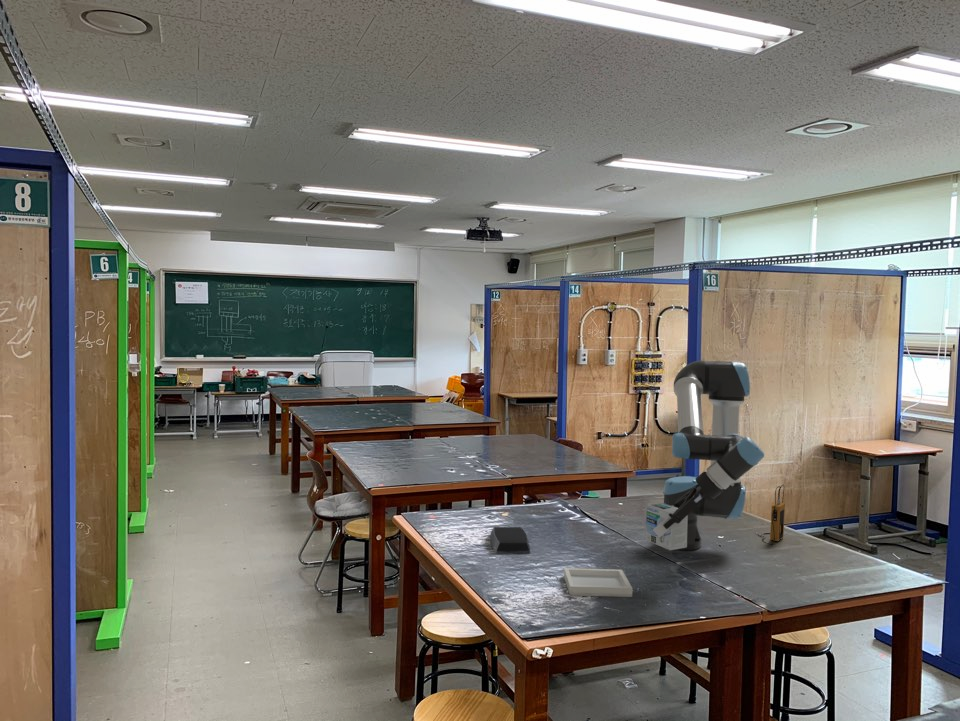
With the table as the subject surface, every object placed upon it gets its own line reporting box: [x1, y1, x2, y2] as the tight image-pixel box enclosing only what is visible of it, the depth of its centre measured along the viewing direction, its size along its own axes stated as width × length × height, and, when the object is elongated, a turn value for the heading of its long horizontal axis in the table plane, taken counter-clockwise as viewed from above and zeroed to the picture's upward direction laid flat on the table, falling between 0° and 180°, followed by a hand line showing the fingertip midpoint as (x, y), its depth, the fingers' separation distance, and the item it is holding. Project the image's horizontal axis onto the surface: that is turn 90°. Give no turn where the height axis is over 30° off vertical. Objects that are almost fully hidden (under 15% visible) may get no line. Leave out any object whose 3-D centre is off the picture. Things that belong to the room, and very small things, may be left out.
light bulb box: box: [645, 502, 688, 551], centre depth 196 cm, size 11×7×11 cm, turn 28°
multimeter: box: [756, 484, 786, 544], centre depth 244 cm, size 15×10×20 cm
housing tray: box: [563, 567, 634, 598], centre depth 193 cm, size 14×17×2 cm
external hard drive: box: [489, 526, 531, 554], centre depth 229 cm, size 13×19×4 cm
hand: (658, 527), depth 197 cm, fingers closed on light bulb box, 12 cm apart
